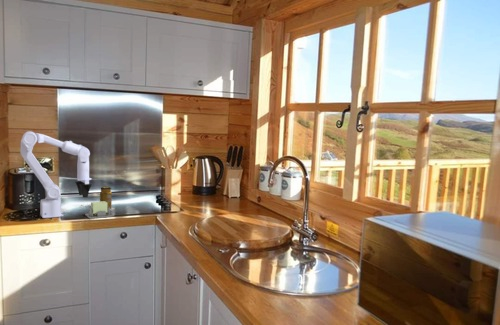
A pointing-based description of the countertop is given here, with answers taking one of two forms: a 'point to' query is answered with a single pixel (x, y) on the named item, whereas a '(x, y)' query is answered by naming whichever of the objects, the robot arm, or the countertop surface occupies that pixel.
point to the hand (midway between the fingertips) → (83, 196)
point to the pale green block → (98, 206)
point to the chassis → (99, 214)
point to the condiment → (106, 196)
